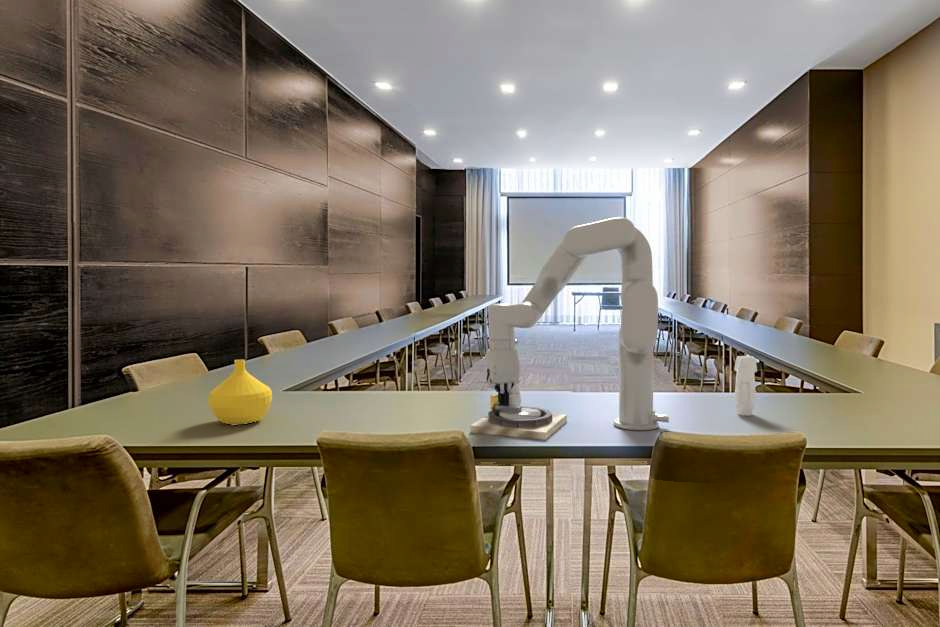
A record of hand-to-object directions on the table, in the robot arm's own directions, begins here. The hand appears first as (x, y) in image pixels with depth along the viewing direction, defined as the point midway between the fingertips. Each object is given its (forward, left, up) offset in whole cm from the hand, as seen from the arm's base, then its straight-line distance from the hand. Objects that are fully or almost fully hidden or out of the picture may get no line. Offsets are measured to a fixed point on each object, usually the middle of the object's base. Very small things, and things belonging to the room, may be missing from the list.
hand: (503, 405), depth 189 cm
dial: (-5, +4, -3) cm, 7 cm away
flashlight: (-67, -35, -5) cm, 75 cm away
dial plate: (-7, +4, -5) cm, 9 cm away
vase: (+75, +28, -5) cm, 81 cm away
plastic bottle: (+4, -19, -5) cm, 20 cm away
